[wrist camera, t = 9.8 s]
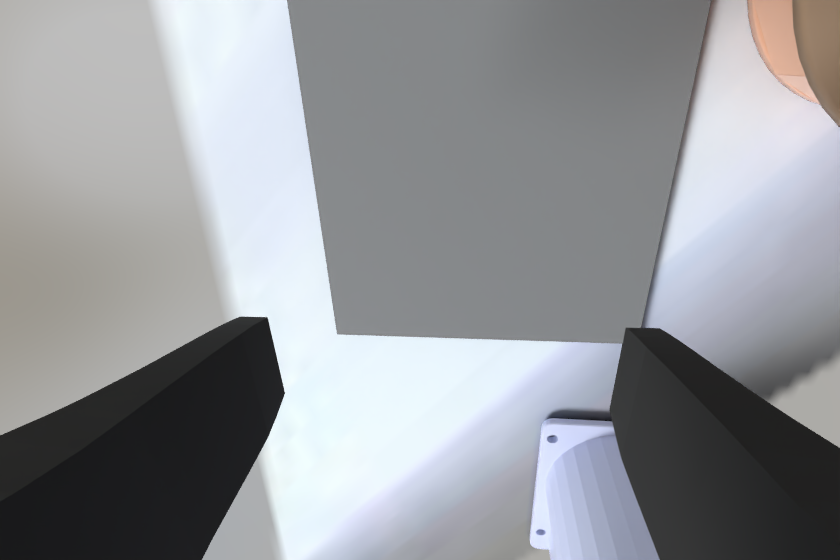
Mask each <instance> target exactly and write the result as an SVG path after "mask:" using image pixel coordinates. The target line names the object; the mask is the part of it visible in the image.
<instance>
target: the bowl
mask: <svg viewBox="0 0 840 560" xmlns="http://www.w3.org/2000/svg"><path fill="white" fill-rule="evenodd" d="M747 3H748V17H749V22H750V27H751V32H752V36H753V39H754V42H755V44H756V47H757V49H758V52H759V54H760V56H761V58H762V59H763V61H764V63H765V64H766V66H767V68H768V69H769V70H770V72H771V73H772V74H773V75H774V76H775V77H776V78H777V80H778V81H779V82H780V83H781V84H783V85H784V86H785V87H787V88H788V89H789V90H790V91H792V92H793V93H795V94H796V95H798V96H800V97H802V98H804V99H806V100H808V101H810V102H813V103H816V104H819V105H820V103H819V101H818V99H817V98H816V96H815V94H814V93H813V91H812V89H811V88H810V86H809V84H808V81H807V78H806V76H805V73H804V70H803V68H802V65H801V62H800V59H799V56H798V50H797V45H796V40H795V34H794V29H793V8H792V0H747Z"/></svg>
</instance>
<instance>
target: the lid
mask: <svg viewBox="0 0 840 560" xmlns="http://www.w3.org/2000/svg"><path fill="white" fill-rule="evenodd" d="M792 8H793V29H794V34H795V40H796V45H797V50H798V56H799V59H800V62H801V65H802V68H803V70H804V73H805V76H806V78H807V81H808V84H809V86H810V88H811V89H812V91H813V93H814V94H815V96H816V98H817V99H818V101H819V103H820V105H821V106H822V108H823V109H824V110H825V111H826V112H827V114H828V115H829V116H830V117H831V118H832V119H833V120H834V122H835V123H836V124H837V125H838V126H839V127H840V0H792Z"/></svg>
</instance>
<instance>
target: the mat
mask: <svg viewBox="0 0 840 560" xmlns="http://www.w3.org/2000/svg"><path fill="white" fill-rule="evenodd" d="M287 3H288V9H289V16H290V23H291V29H292V36H293V43H294V49H295V56H296V63H297V69H298V76H299V83H300V89H301V96H302V103H303V109H304V116H305V123H306V129H307V136H308V143H309V149H310V156H311V163H312V169H313V176H314V183H315V189H316V196H317V203H318V209H319V216H320V223H321V229H322V236H323V243H324V249H325V256H326V263H327V270H328V276H329V283H330V290H331V296H332V303H333V310H334V316H335V323H336V330H337V334H345V335H376V336H407V337H437V338H468V339H499V340H530V341H561V342H591V343H622V344H623V339H624V334H625V329H626V328H641V325H642V321H643V316H644V311H645V307H646V302H647V297H648V293H649V288H650V283H651V279H652V274H653V269H654V265H655V260H656V256H657V251H658V246H659V242H660V237H661V232H662V228H663V223H664V218H665V214H666V209H667V204H668V200H669V195H670V190H671V186H672V181H673V176H674V172H675V167H676V162H677V158H678V153H679V148H680V144H681V139H682V134H683V130H684V125H685V120H686V116H687V111H688V106H689V102H690V97H691V93H692V88H693V83H694V79H695V74H696V69H697V65H698V60H699V55H700V51H701V46H702V41H703V37H704V32H705V27H706V23H707V18H708V13H709V9H710V4H711V0H287Z"/></svg>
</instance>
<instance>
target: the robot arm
mask: <svg viewBox="0 0 840 560" xmlns="http://www.w3.org/2000/svg"><path fill="white" fill-rule="evenodd" d="M284 394H285V392H284V388H283V383H282V379H281V374H280V370H279V366H278V361H277V357H276V353H275V348H274V344H273V340H272V335H271V331H270V327H269V322H268V318H267V317H239V318H236V319H234V320H231V321H229V322H227V323H225V324H223V325H221V326H219V327H217V328H215V329H213V330H211V331H209V332H207V333H205V334H204V335H202V336H200V337H198V338H196V339H194V340H193V341H191V342H189V343H187V344H185V345H183V346H182V347H180V348H178V349H176V350H174V351H173V352H171V353H169V354H167V355H165V356H163V357H161V358H160V359H158V360H156V361H154V362H152V363H150V364H149V365H147V366H145V367H143V368H141V369H139V370H137V371H135V372H133V373H131V374H130V375H128V376H126V377H124V378H122V379H120V380H118V381H116V382H114V383H112V384H110V385H108V386H106V387H104V388H102V389H100V390H98V391H96V392H94V393H92V394H90V395H89V396H86V397H84V398H83V399H80V400H78V401H76V402H74V403H72V404H70V405H68V406H66V407H64V408H62V409H59V410H57V411H55V412H53V413H51V414H49V415H46V416H44V417H42V418H40V419H37V420H35V421H33V422H30V423H28V424H26V425H24V426H21V427H19V428H17V429H15V430H12V431H10V432H8V433H5V434H3V435H0V560H202V558H203V556H204V554H205V552H206V550H207V548H208V546H209V544H210V542H211V540H212V539H213V537H214V535H215V533H216V531H217V529H218V528H219V526H220V524H221V522H222V520H223V519H224V517H225V515H226V513H227V511H228V510H229V508H230V506H231V504H232V502H233V500H234V499H235V497H236V495H237V493H238V491H239V490H240V488H241V486H242V484H243V482H244V481H245V479H246V477H247V475H248V473H249V472H250V469H251V468H252V466H253V464H254V462H255V460H256V459H257V457H258V455H259V453H260V451H261V449H262V448H263V446H264V444H265V442H266V440H267V438H268V436H269V434H270V431H271V429H272V426H273V424H274V421H275V419H276V416H277V413H278V411H279V408H280V405H281V402H282V400H283V397H284ZM610 414H611V418H612V421H596V420H577V419H558V418H550V419H547V420H545V421H544V422H543V424H542V428H541V437H540V446H539V455H538V465H537V474H536V483H535V492H534V501H533V511H532V520H531V529H530V544H531V545H532V546H533V547H535V548H538V549H548V550H549V553H550V560H840V448H838V447H837V446H836V445H834V444H832V443H831V442H829V441H828V440H826V439H824V438H823V437H821V436H820V435H818V434H816V433H815V432H813V431H812V430H810V429H808V428H807V427H805V426H804V425H802V424H800V423H799V422H797V421H796V420H794V419H792V418H791V417H789V416H788V415H786V414H785V413H783V412H782V411H780V410H779V409H777V408H776V407H774V406H773V405H771V404H770V403H768V402H767V401H765V400H764V399H762V398H761V397H759V396H758V395H756V394H755V393H753V392H752V391H750V390H749V389H747V388H746V387H745V386H743V385H742V384H740V383H739V382H737V381H736V380H734V379H733V378H732V377H730V376H729V375H727V374H726V373H724V372H723V371H722V370H720V369H719V368H717V367H716V366H714V365H713V364H712V363H710V362H709V361H707V360H706V359H705V358H703V357H702V356H700V355H699V354H697V353H696V352H695V351H693V350H692V349H690V348H689V347H687V346H686V345H685V344H683V343H682V342H680V341H679V340H677V339H676V338H674V337H673V336H671V335H670V334H668V333H666V332H665V331H663V330H661V329H660V328H626V329H625V334H624V339H623V344H622V349H621V354H620V359H619V364H618V369H617V374H616V380H615V385H614V390H613V395H612V400H611V405H610ZM550 435H555V436H554V437H549V436H550Z"/></svg>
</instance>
